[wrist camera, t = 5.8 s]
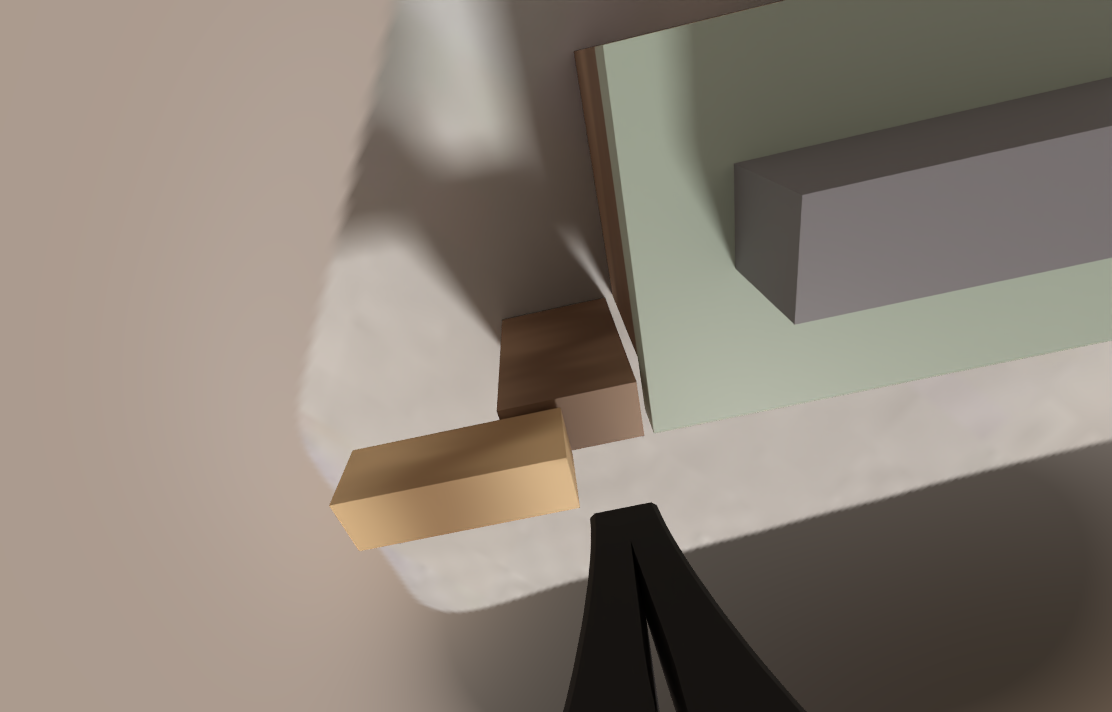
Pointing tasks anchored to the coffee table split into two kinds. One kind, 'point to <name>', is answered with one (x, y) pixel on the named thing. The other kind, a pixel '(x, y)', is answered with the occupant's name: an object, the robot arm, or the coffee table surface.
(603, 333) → the toolbox
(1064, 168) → the toolbox lid
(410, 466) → the wooden block
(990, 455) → the coffee table surface
